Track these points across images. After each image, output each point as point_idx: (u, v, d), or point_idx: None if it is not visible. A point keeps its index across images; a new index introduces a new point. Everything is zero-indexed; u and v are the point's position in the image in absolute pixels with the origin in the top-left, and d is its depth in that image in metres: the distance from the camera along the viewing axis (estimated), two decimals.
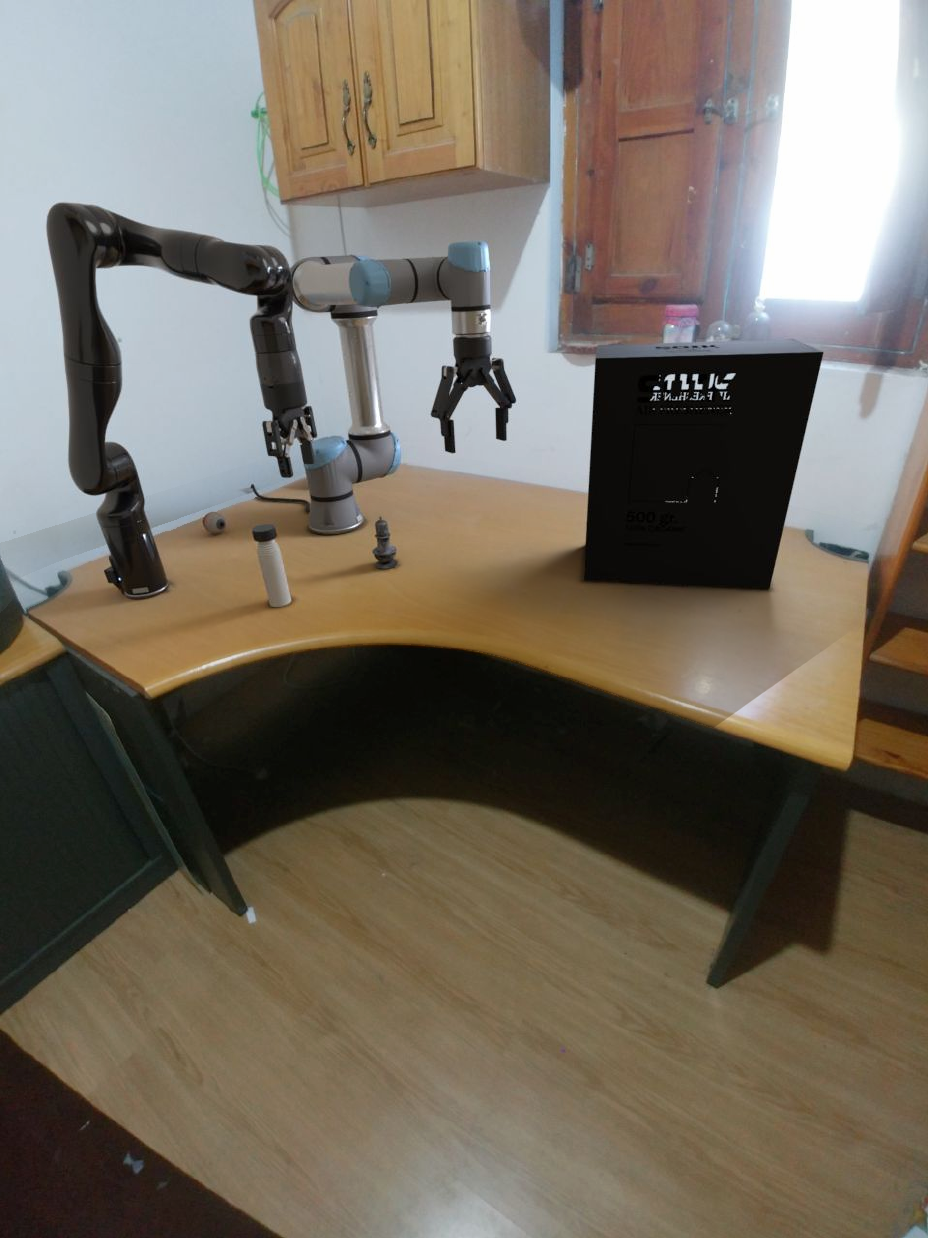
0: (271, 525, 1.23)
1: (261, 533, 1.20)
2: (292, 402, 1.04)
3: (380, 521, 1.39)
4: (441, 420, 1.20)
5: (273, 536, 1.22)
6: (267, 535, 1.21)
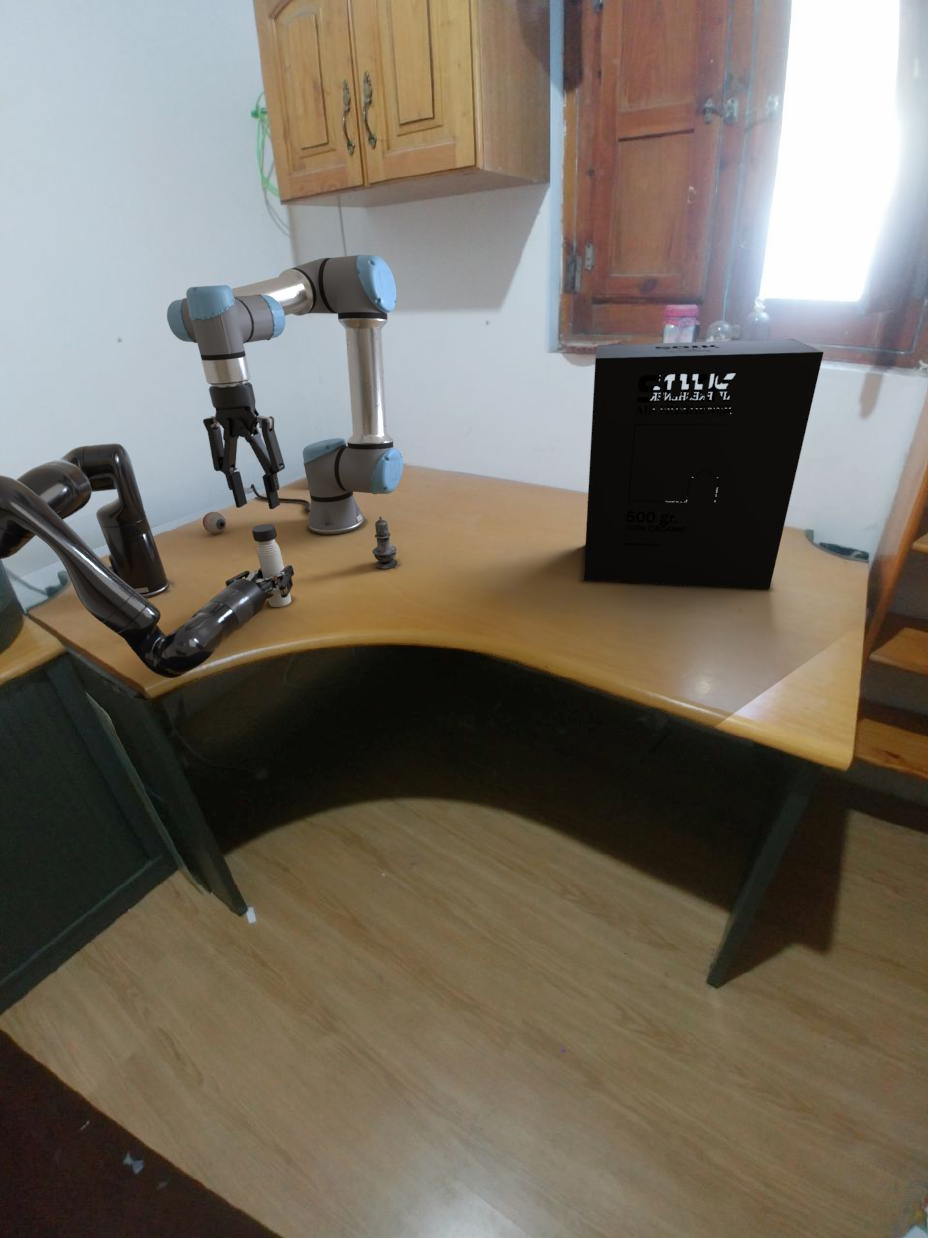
0: (271, 525, 1.23)
1: (261, 533, 1.20)
2: None
3: (380, 521, 1.39)
4: (275, 474, 1.15)
5: (273, 536, 1.22)
6: (267, 535, 1.21)
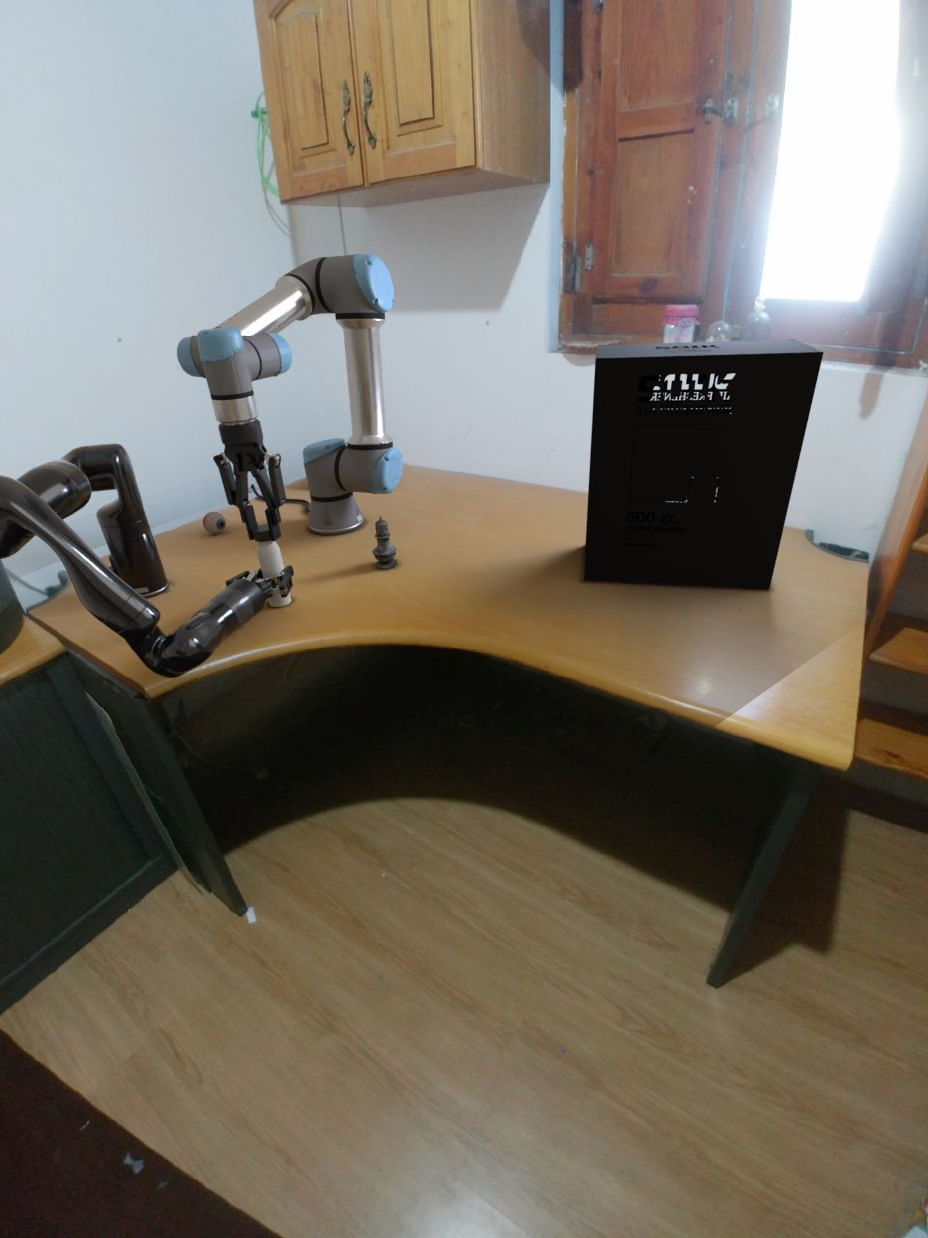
0: None
1: (261, 533, 1.20)
2: None
3: (380, 521, 1.39)
4: (277, 508, 1.19)
5: None
6: (267, 535, 1.21)
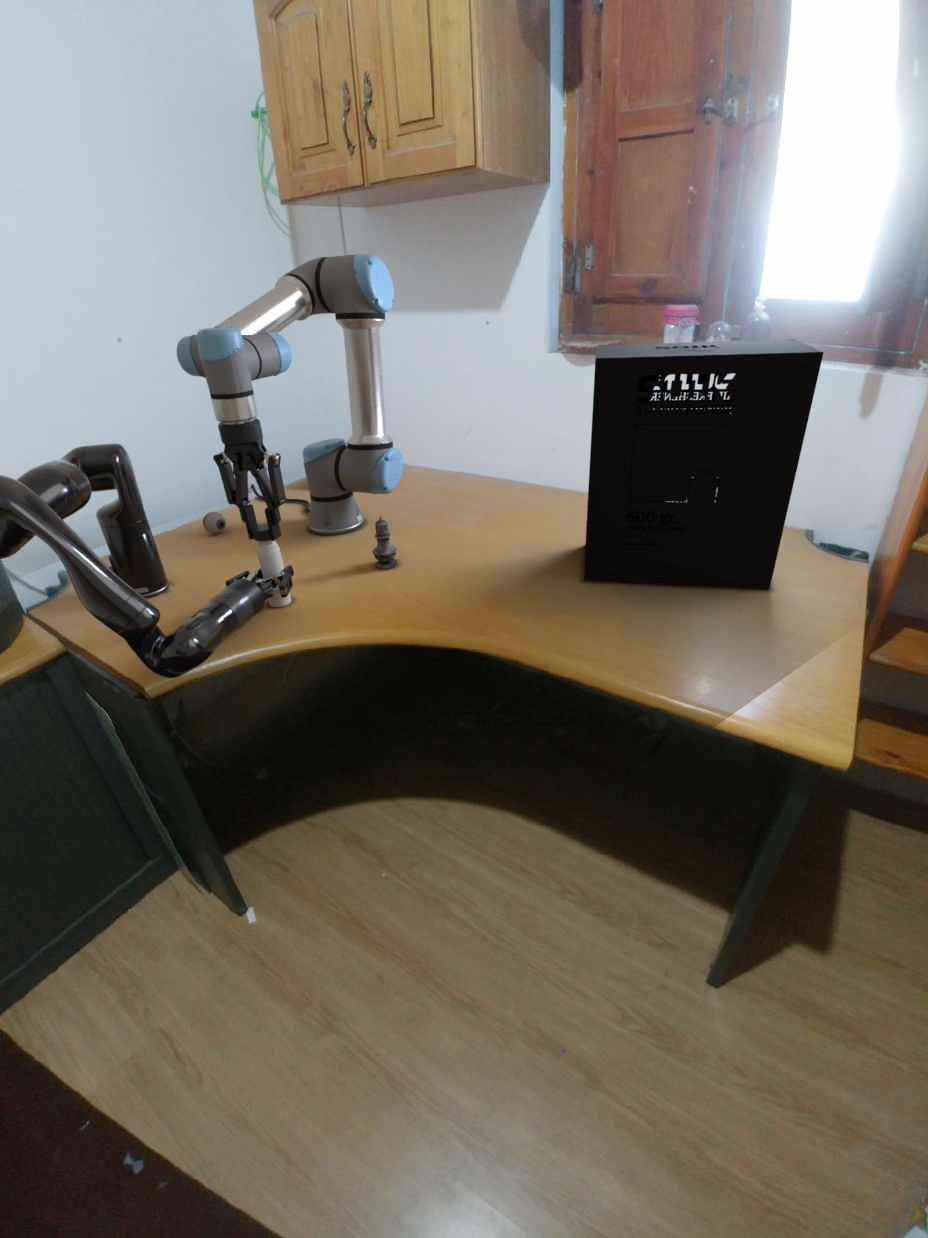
0: (255, 526, 1.22)
1: None
2: None
3: (380, 521, 1.39)
4: (277, 507, 1.19)
5: None
6: None
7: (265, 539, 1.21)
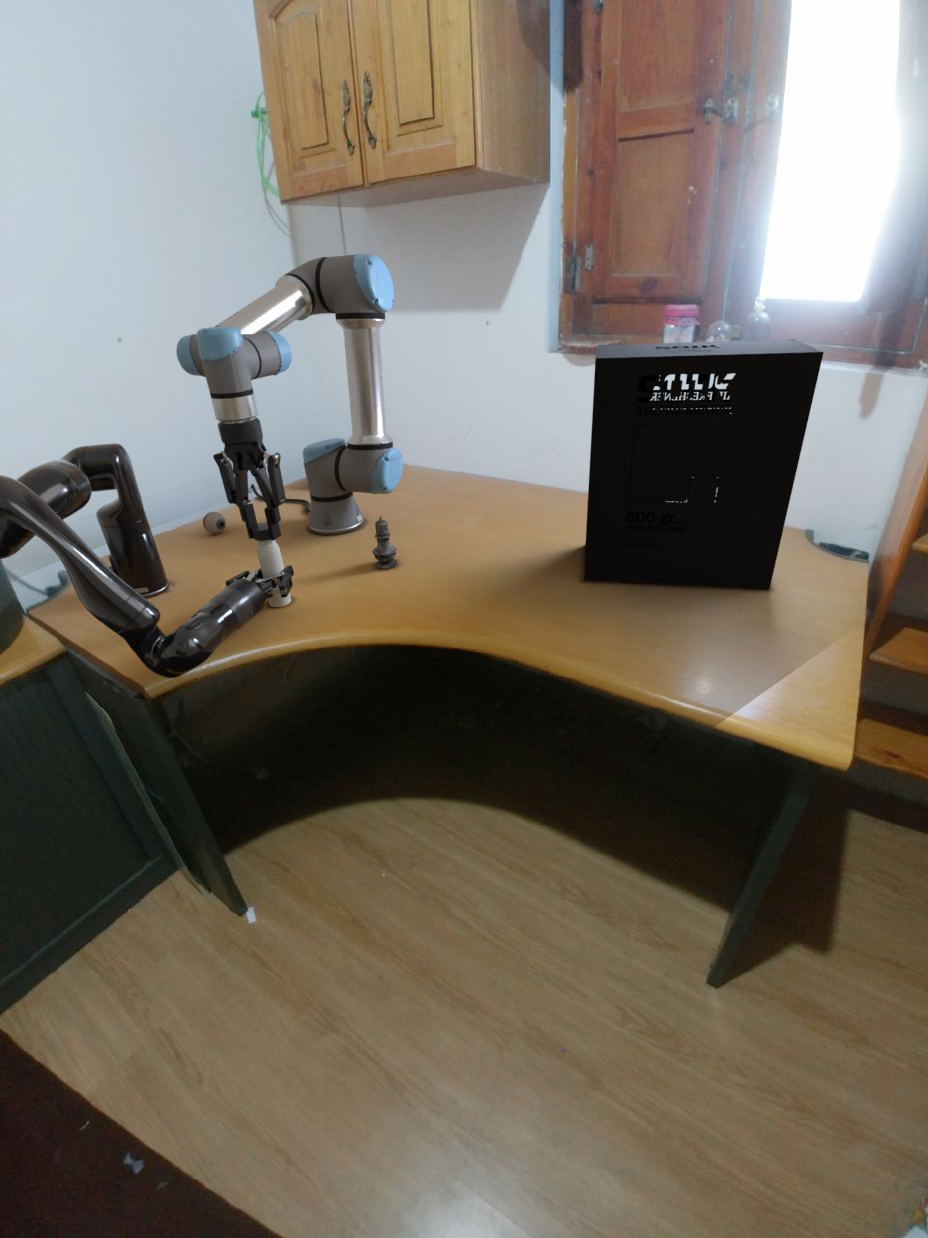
0: (265, 529, 1.21)
1: None
2: None
3: (380, 521, 1.39)
4: (276, 507, 1.19)
5: (256, 537, 1.21)
6: (253, 534, 1.22)
7: None
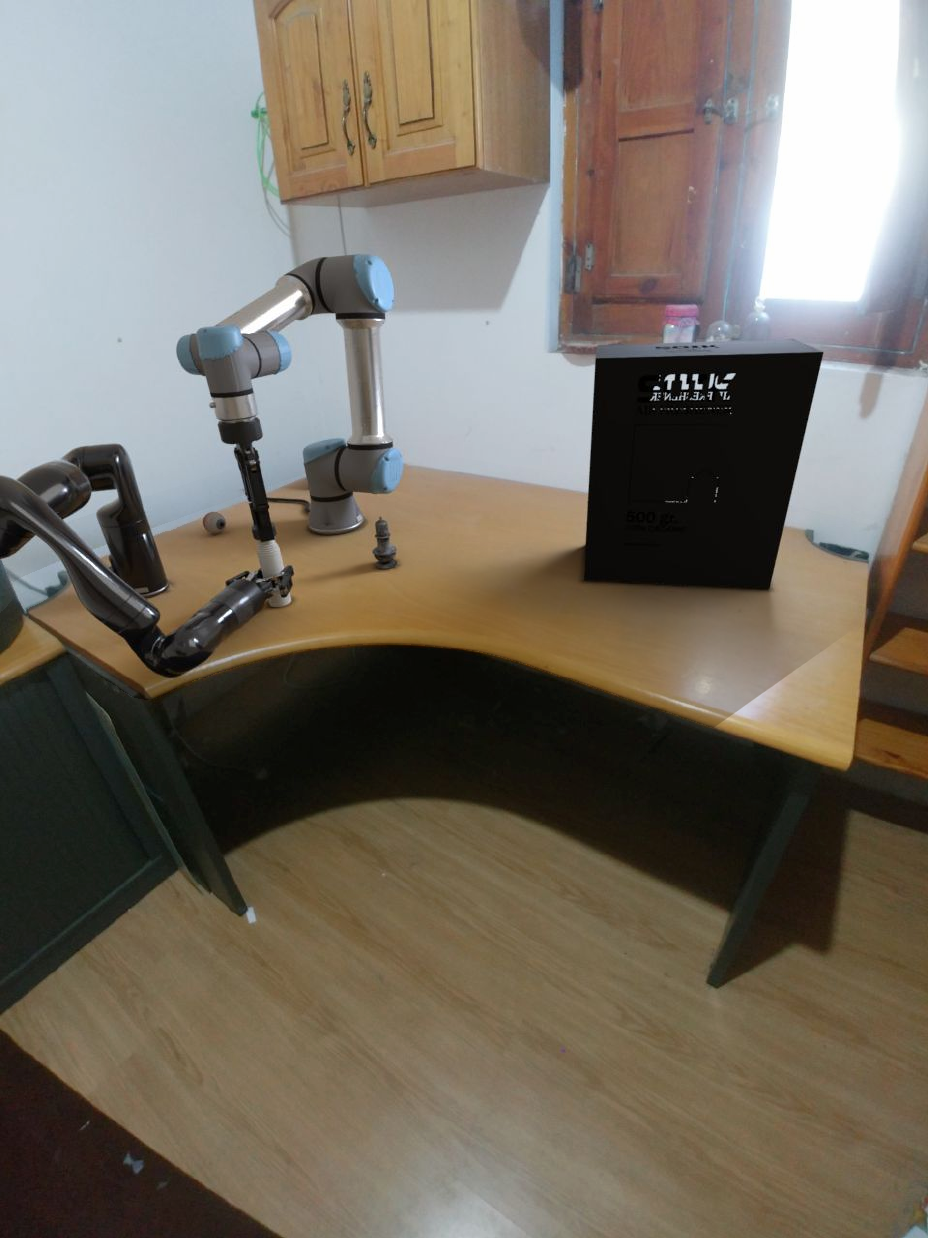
0: None
1: None
2: None
3: (380, 521, 1.39)
4: None
5: (275, 531, 1.23)
6: (273, 531, 1.22)
7: None
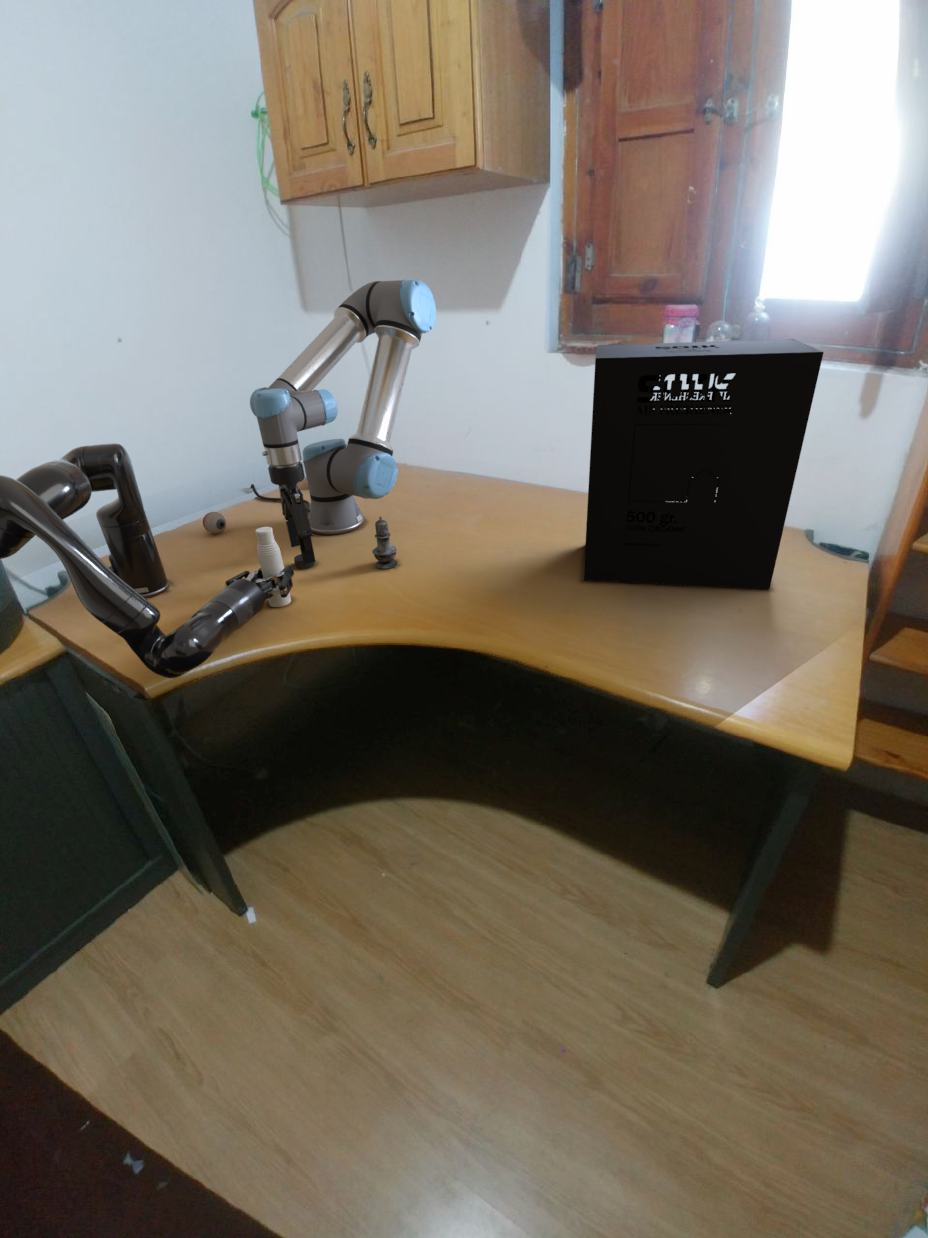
0: None
1: None
2: None
3: (380, 521, 1.39)
4: None
5: None
6: None
7: (295, 565, 1.46)
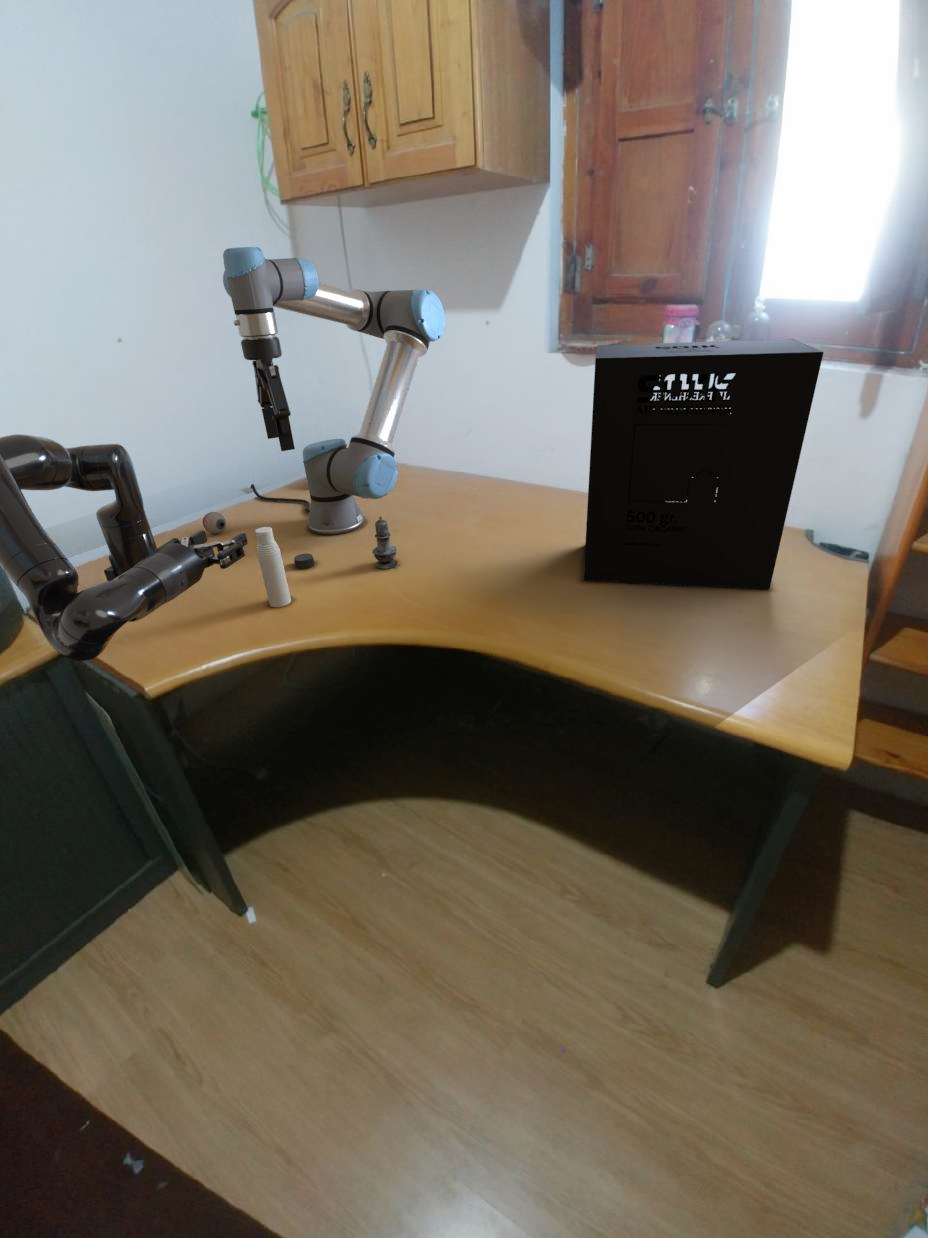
0: (306, 554, 1.47)
1: (308, 560, 1.45)
2: None
3: (380, 521, 1.39)
4: None
5: (313, 561, 1.47)
6: (312, 561, 1.46)
7: (295, 565, 1.46)
